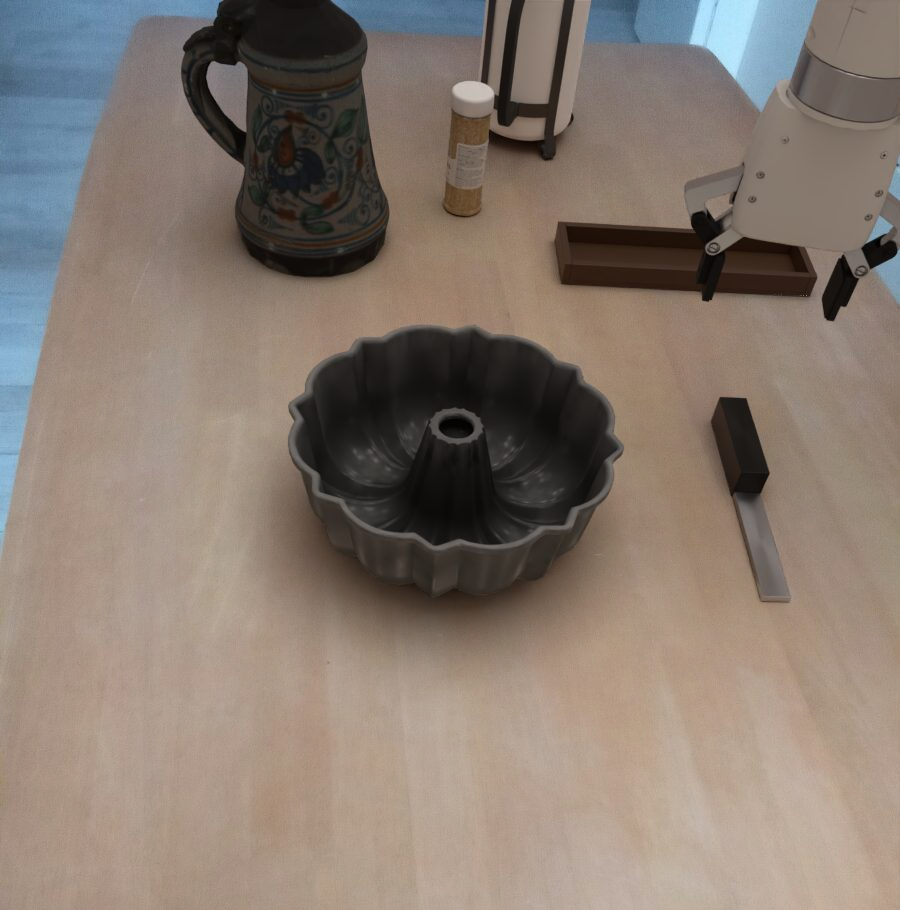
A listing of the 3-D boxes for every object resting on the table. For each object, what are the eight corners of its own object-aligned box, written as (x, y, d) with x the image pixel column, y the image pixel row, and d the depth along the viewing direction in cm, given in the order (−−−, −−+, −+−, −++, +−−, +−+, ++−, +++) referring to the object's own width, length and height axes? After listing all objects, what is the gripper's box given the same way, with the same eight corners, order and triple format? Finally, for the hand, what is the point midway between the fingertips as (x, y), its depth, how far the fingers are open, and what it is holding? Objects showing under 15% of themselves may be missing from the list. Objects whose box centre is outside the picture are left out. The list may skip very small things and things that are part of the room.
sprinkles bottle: (444, 194, 119) (453, 76, 108) (483, 198, 119) (496, 81, 108) (441, 215, 116) (450, 97, 106) (480, 220, 116) (493, 102, 106)
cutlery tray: (792, 254, 117) (800, 234, 115) (809, 296, 112) (818, 277, 110) (554, 241, 115) (557, 221, 113) (561, 284, 110) (565, 263, 108)
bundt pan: (269, 426, 92) (261, 336, 85) (542, 393, 98) (559, 305, 90) (324, 661, 77) (321, 577, 69) (644, 604, 83) (675, 521, 75)
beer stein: (412, 262, 110) (426, 15, 90) (238, 298, 104) (212, 41, 84) (354, 184, 119) (355, -57, 99) (191, 213, 112) (157, -38, 93)
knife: (710, 420, 98) (719, 396, 95) (737, 421, 98) (746, 397, 95) (759, 601, 84) (771, 578, 82) (790, 602, 84) (803, 579, 82)
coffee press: (436, 111, 131) (455, -171, 107) (547, 97, 136) (588, -177, 112) (491, 181, 121) (525, -112, 98) (608, 163, 126) (667, -121, 103)
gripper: (972, 75, 69) (869, 290, 83) (719, 37, 70) (658, 257, 83) (992, 128, 65) (881, 347, 78) (721, 87, 65) (657, 312, 78)
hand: (766, 301), depth 80 cm, fingers open, 9 cm apart
